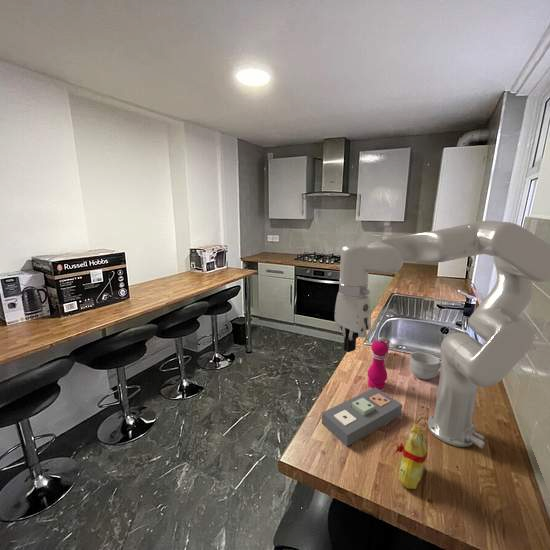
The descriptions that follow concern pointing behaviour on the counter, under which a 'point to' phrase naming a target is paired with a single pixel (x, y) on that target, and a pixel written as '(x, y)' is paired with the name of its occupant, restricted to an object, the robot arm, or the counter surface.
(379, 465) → the counter surface
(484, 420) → the counter surface
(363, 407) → the tile two
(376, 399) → the tile three
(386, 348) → the pink bowling pin
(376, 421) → the console
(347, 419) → the tile one
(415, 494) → the counter surface
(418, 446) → the chocolate bunny
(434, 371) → the teacup
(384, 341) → the tin
